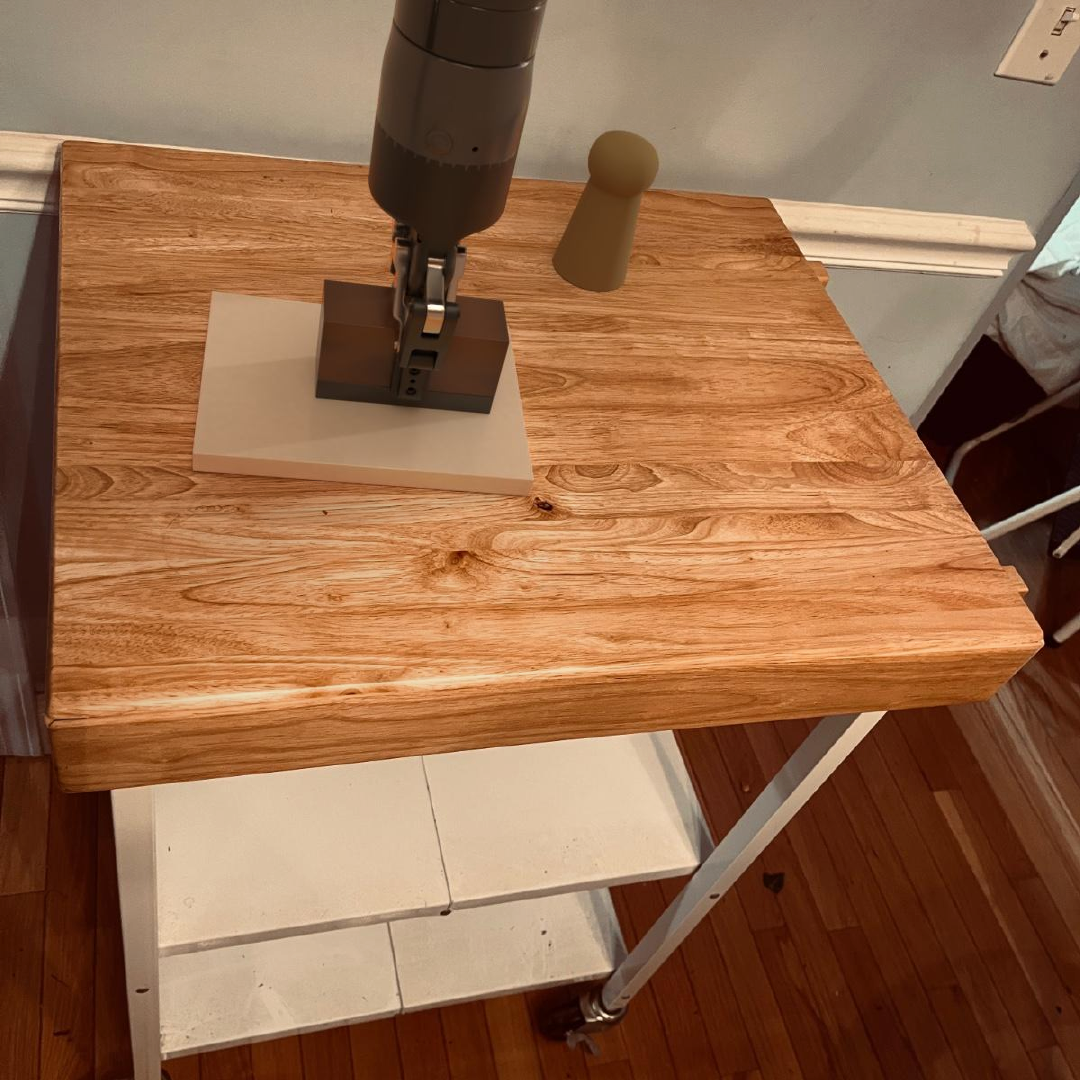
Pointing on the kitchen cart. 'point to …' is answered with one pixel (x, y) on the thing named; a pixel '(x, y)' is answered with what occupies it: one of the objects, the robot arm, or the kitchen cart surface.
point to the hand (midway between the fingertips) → (405, 371)
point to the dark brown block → (368, 350)
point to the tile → (338, 414)
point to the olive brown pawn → (607, 212)
